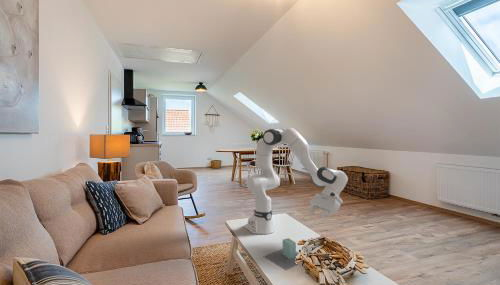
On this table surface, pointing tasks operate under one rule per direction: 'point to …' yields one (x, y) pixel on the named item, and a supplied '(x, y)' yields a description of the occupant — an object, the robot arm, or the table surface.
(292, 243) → the box
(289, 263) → the mat
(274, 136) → the robot arm
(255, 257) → the table surface
